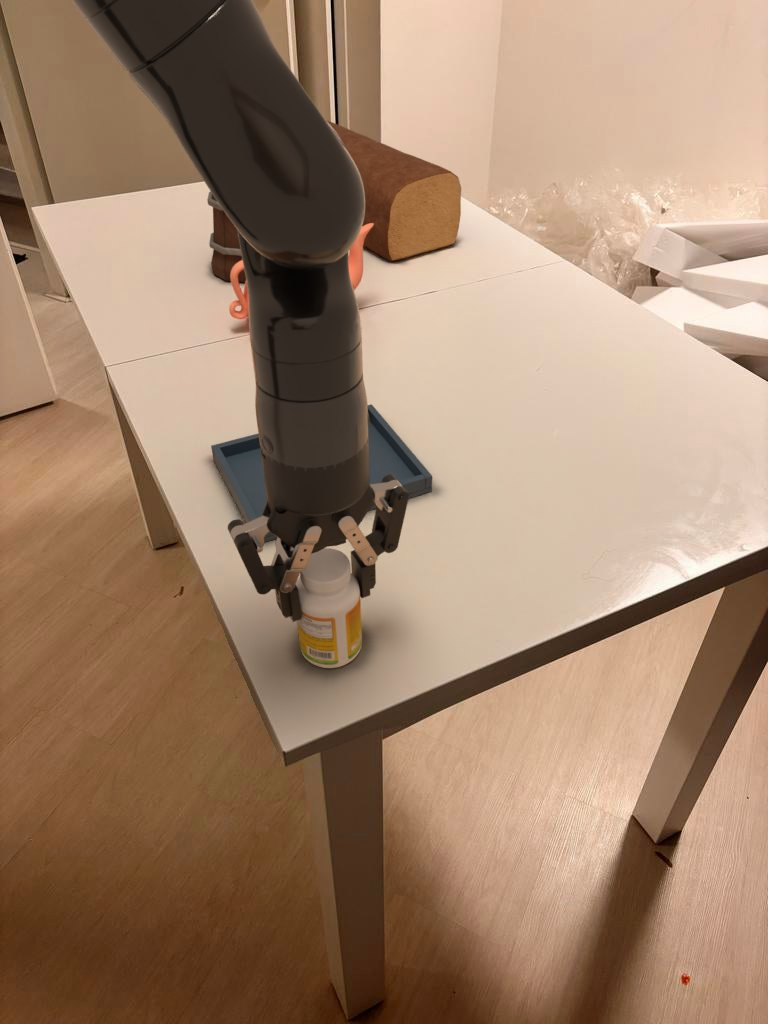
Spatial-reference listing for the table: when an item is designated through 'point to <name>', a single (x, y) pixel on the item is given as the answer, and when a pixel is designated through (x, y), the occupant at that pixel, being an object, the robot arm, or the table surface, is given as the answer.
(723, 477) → the table surface
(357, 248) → the teapot
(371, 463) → the tray
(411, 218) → the bread
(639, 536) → the table surface
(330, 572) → the supplement bottle
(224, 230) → the mug
